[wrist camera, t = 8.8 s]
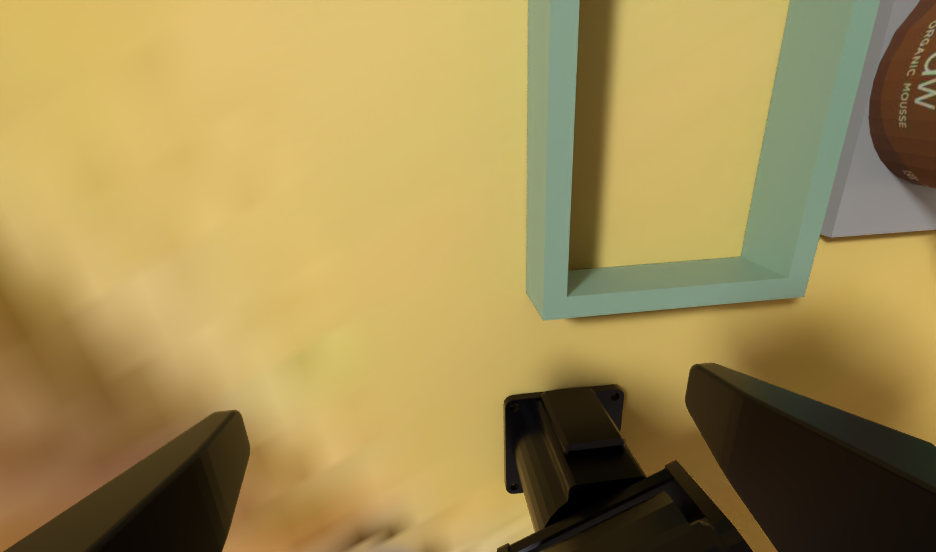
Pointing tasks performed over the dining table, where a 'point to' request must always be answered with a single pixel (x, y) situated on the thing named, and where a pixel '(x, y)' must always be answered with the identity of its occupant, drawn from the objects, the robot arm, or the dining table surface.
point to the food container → (907, 99)
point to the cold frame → (776, 187)
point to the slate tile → (875, 159)
